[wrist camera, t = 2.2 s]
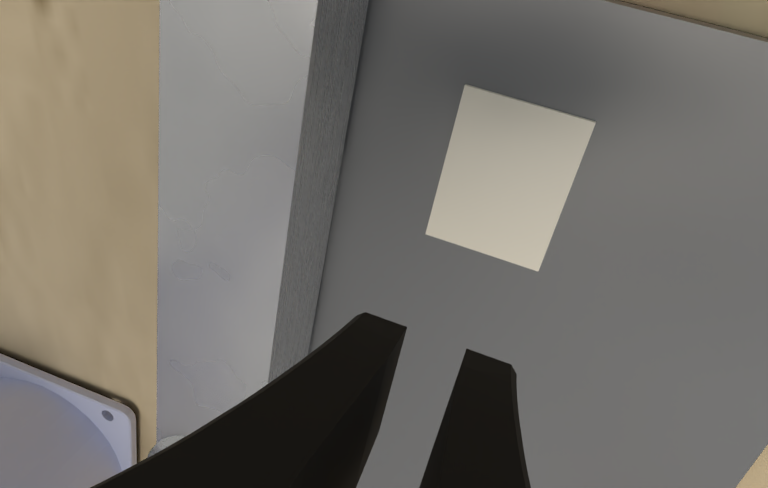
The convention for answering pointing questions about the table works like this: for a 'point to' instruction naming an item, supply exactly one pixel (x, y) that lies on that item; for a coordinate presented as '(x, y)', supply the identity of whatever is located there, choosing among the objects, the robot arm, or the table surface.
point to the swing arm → (244, 191)
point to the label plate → (562, 233)
